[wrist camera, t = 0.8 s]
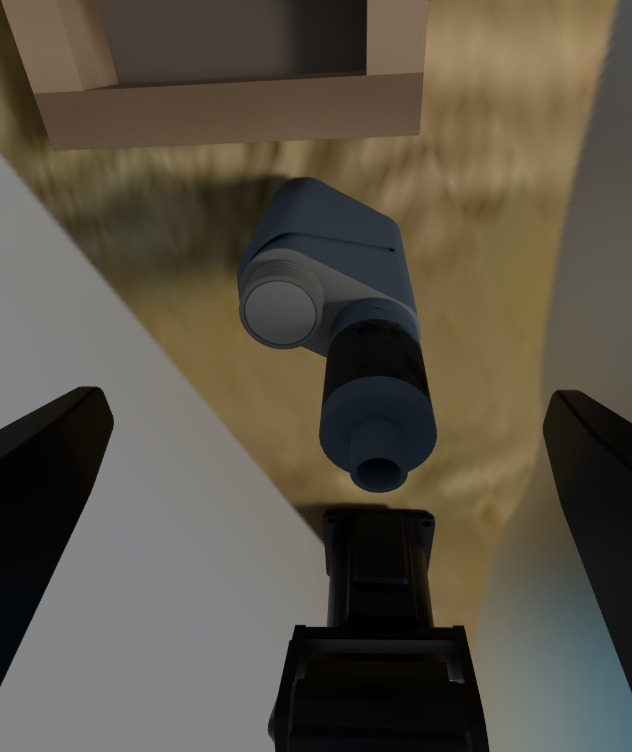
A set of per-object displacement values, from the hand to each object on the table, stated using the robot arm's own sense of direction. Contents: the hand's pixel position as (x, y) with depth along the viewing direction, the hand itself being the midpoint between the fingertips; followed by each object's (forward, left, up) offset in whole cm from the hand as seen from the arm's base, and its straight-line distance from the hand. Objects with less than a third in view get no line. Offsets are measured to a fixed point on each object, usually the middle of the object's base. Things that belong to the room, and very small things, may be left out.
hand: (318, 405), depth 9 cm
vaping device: (0, 0, -11) cm, 11 cm away
